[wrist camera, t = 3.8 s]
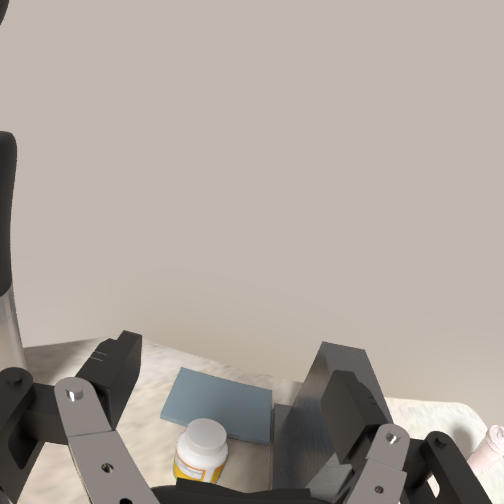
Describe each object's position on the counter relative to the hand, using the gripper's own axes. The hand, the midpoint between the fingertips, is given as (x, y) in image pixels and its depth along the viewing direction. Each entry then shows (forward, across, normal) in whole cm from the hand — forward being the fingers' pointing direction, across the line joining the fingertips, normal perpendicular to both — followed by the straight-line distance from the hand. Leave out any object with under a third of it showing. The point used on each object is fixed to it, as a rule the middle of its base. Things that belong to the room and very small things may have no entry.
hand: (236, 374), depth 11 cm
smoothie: (+8, -44, +26) cm, 52 cm away
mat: (+24, -2, +24) cm, 34 cm away
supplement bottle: (+11, 0, +25) cm, 28 cm away
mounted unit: (+15, -14, +25) cm, 32 cm away
